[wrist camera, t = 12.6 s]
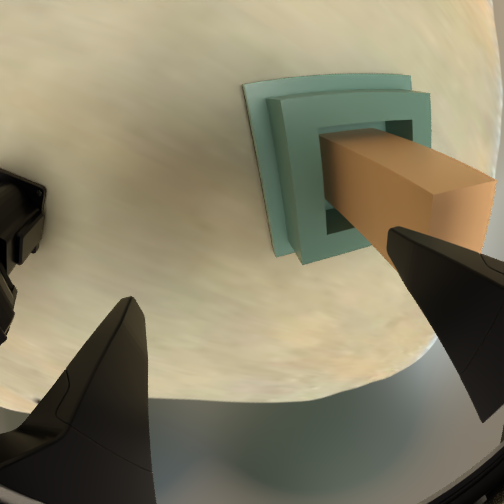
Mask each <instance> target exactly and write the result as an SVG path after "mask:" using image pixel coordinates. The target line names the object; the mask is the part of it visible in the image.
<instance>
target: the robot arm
mask: <svg viewBox="0 0 504 504" xmlns="http://www.w3.org/2000/svg"><path fill="white" fill-rule="evenodd" d="M39 190H40V191H41V192H42V194H40V193H39ZM45 196H46V189H45V188H44V187H43V186H42V185H39V184H37V183H34V182H32V181H29V180H27V179H24V178H22V177H19V176H17V175H14V174H12V173H9V172H7V171H4V170H2V169H0V345H1V344H2V343H3V342H4V341H6V339H7V336H6V335H7V333H8V331H9V328H10V325H11V323H12V321H13V318H14V315H15V312H14V311H13V309H14V304H15V299H16V295H17V289H16V288H15V286H14V285H13V284H12V282H11V280H10V278H9V276H8V275H9V274H10V272H11V271H12V270H13V268H14V267H15V265H16V264H18V265H21V264H23V262H24V261H25V260H26V258H27V257H28V256H29V254H30V253H36V251H37V250H38V244H39V241H40V240H41V236H42V228H43V221H44V213H43V207H44V201H45ZM386 250H387V254H388V256H389V257H390V259H391V261H392V263H393V264H394V266H395V268H396V270H397V271H398V273H399V275H400V277H401V279H402V281H403V282H404V284H405V286H406V287H407V289H408V291H409V292H410V294H411V295H412V297H413V298H414V300H415V301H416V303H417V304H418V306H419V307H420V309H421V310H422V312H423V314H424V315H425V317H426V318H427V320H428V322H429V323H430V325H431V326H432V328H433V330H434V331H435V333H436V335H437V336H438V338H439V340H440V342H441V343H442V345H443V347H444V348H445V350H446V352H447V354H448V355H449V357H450V359H451V361H452V363H453V365H454V366H455V368H456V370H457V372H458V374H459V375H460V378H461V380H462V382H463V384H464V386H465V388H466V390H467V392H468V394H469V396H470V398H471V400H472V402H473V404H474V407H475V409H476V411H477V413H478V416H479V418H480V420H481V422H482V423H484V422H485V421H486V420H487V419H489V418H490V417H491V416H492V415H493V414H494V413H496V412H497V411H498V410H499V409H500V408H501V407H502V406H503V405H504V262H503V261H500V260H497V259H494V258H491V257H489V256H486V255H484V254H479V253H478V252H475V251H473V250H470V249H467V248H464V247H462V246H459V245H456V244H453V243H450V242H447V241H444V240H441V239H438V238H435V237H432V236H429V235H426V234H423V233H420V232H417V231H414V230H410V229H407V228H404V227H401V226H396V227H393V228H390V229H389V230H388V235H387V246H386ZM0 504H156V497H155V490H154V482H153V473H152V464H151V451H150V436H149V416H148V352H147V340H146V327H145V317H144V314H143V312H142V310H141V309H140V307H139V305H138V303H137V302H136V300H135V298H134V297H132V296H130V297H126V298H122V299H121V300H120V301H119V302H118V303H117V305H116V306H115V307H114V308H113V309H112V311H111V312H110V313H109V314H108V315H107V317H106V318H105V319H104V320H103V321H102V323H101V324H100V325H99V326H98V328H97V329H96V330H95V331H94V333H93V334H92V335H91V336H90V338H89V339H88V340H87V341H86V343H85V344H84V345H83V347H82V348H81V349H80V350H79V352H78V353H77V354H76V356H75V357H74V358H73V360H72V361H71V362H70V364H69V365H68V366H67V368H66V370H64V372H63V373H62V374H61V376H60V377H59V378H58V380H57V381H56V382H55V384H54V385H53V386H52V388H51V389H50V390H49V391H48V393H47V394H46V395H45V396H44V398H43V399H42V400H41V401H40V403H39V404H38V405H37V406H36V407H35V409H34V410H33V411H32V412H31V414H30V415H29V417H27V419H26V420H25V421H24V422H23V423H22V425H20V426H19V427H18V428H16V429H14V430H12V431H10V432H6V433H2V434H0ZM418 504H504V426H503V432H502V437H501V442H500V445H499V446H497V447H496V448H495V449H494V450H493V451H492V452H490V453H489V454H488V455H487V456H486V457H485V458H484V459H482V460H481V461H480V462H479V463H477V464H476V465H475V466H473V467H472V468H471V469H470V470H468V471H467V472H466V473H464V474H463V475H461V476H460V477H459V478H457V479H456V480H455V481H453V482H452V483H450V484H449V485H447V486H446V487H444V488H442V489H441V490H439V491H438V492H436V493H435V494H433V495H431V496H430V497H428V498H427V499H425V500H423V501H421V502H420V503H418Z"/></svg>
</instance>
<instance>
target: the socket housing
mask: <svg viewBox="0 0 504 504" xmlns="http://www.w3.org/2000/svg"><path fill="white" fill-rule="evenodd" d="M242 86H243V91H244V96H245V101H246V105H247V110H248V115H249V120H250V126H251V131H252V136H253V141H254V146H255V151H256V157H257V162H258V167H259V173H260V178H261V183H262V189H263V194H264V200H265V205H266V211H267V217H268V222H269V228H270V234H271V240H272V245H273V251H274V254H275V256H276V257H279V256H283V255H287V254H290V253H294V252H295V253H296V255H297V257H298V258H299V260H300V262H301V263H302V265H305V264H308V263H312V262H316V261H319V260H323V259H326V258H330V257H333V256H337V255H340V254H344V253H347V252H351V251H354V250H357V249H361V248H364V247H368V246H371V245H372V244H371V243H370V242H369V241H368V240H367V239H366V238H365V237H364V236H363V235H362V234H361V233H360V232H359V231H358V230H357V229H356V228H355V227H354V226H353V225H352V224H351V223H350V222H349V221H348V220H347V219H346V218H345V217H344V216H343V215H342V214H341V213H340V212H339V211H338V210H336V209H335V208H334V207H333V206H332V205H331V204H330V203H329V202H328V201H327V200H326V199H325V196H324V184H323V172H322V162H321V152H320V143H319V134H324V133H331V132H338V131H346V130H355V129H365V128H375V129H379V130H382V131H385V132H388V133H391V134H394V135H396V136H399V137H402V138H405V139H408V140H410V141H413V142H415V143H418V144H421V145H423V146H426V147H428V148H431V104H430V93H425V92H418V91H412V84H411V76H409V75H394V74H329V75H313V76H301V77H292V78H283V79H275V80H268V81H261V82H255V83H249V84H243V85H242Z"/></svg>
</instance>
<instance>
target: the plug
mask: <svg viewBox="0 0 504 504" xmlns="http://www.w3.org/2000/svg"><path fill="white" fill-rule="evenodd" d="M319 143H320V152H321V162H322V172H323V184H324V196H325V199H326V200H327V201H328V202H329V203H330V204H331V205H332V206H333V207H334V208H335V209H336V210H338V211H339V212H340V213H341V214H342V215H343V216H344V217H345V218H346V219H347V220H348V221H349V222H350V223H351V224H352V225H353V226H354V227H355V228H356V229H357V230H358V231H359V232H360V233H361V234H362V235H363V236H364V237H365V238H366V239H367V240H368V241H369V242H370V243H371V244H372V245H373V246H374V247H375V248H376V249H377V250H378V251H379V252H380V254H381V255H382V256H383V257H384V258H385V259H386V260H387V261H388V262H389V263H390V264H391V265H392V266H393V267H394V269H395V270H396V268H395V266H394V264H393V263H392V261H391V259H390V257H389V256H388V254H387V250H386V246H387V235H388V230H389V229H390V228H393V227H396V226H401V227H404V228H407V229H410V230H414V231H417V232H420V233H423V234H426V235H429V236H432V237H435V238H438V239H441V240H444V241H447V242H450V243H453V244H456V245H459V246H462V247H464V248H467V249H470V250H473V251H475V252H478V253H479V254H481V251H482V247H483V243H484V240H485V236H486V232H487V228H488V224H489V220H490V215H491V210H492V205H493V200H494V194H495V189H496V182H497V180H495V179H493V178H492V177H490V176H488V175H486V174H484V173H482V172H480V171H478V170H476V169H474V168H472V167H470V166H468V165H466V164H464V163H462V162H460V161H458V160H456V159H454V158H451V157H449V156H447V155H445V154H442V153H440V152H438V151H435V150H433V149H431V148H428V147H426V146H423V145H421V144H418V143H415V142H413V141H410V140H408V139H405V138H402V137H399V136H396V135H394V134H391V133H388V132H385V131H382V130H379V129H375V128H365V129H355V130H346V131H338V132H331V133H324V134H319ZM396 271H397V270H396ZM397 272H398V271H397Z"/></svg>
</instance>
